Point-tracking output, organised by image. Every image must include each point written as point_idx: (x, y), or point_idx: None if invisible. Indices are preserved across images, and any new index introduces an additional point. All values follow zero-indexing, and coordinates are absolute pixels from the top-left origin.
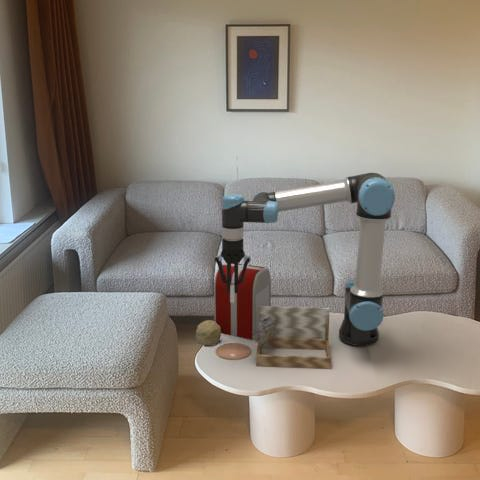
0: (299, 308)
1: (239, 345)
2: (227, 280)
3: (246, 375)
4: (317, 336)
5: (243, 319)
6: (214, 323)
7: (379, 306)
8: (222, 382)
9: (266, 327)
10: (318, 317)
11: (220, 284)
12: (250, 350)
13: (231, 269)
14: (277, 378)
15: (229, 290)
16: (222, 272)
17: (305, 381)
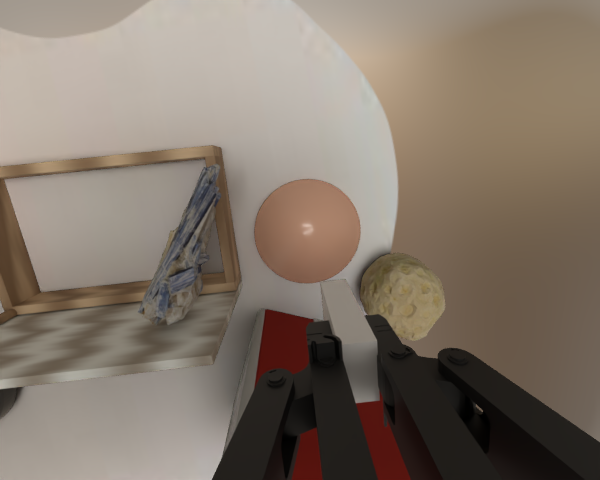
0: (13, 376)
1: (296, 270)
2: (423, 371)
3: (236, 77)
4: (36, 317)
5: (295, 353)
6: (392, 310)
7: None
8: (301, 12)
9: (171, 245)
10: None
11: None
12: (257, 242)
13: None
14: (136, 72)
15: (370, 325)
16: (556, 445)
17: (44, 66)
